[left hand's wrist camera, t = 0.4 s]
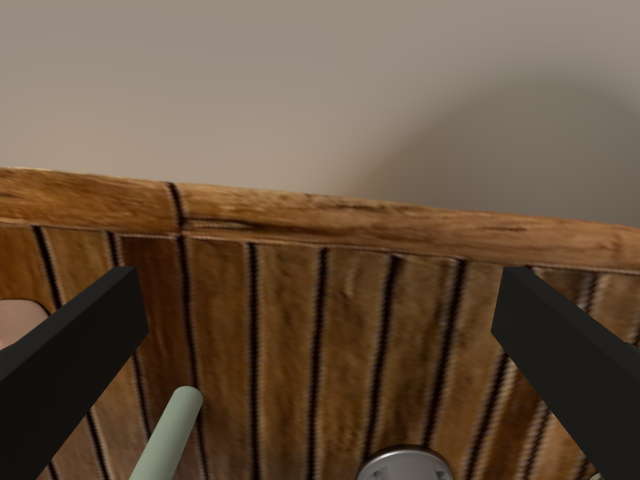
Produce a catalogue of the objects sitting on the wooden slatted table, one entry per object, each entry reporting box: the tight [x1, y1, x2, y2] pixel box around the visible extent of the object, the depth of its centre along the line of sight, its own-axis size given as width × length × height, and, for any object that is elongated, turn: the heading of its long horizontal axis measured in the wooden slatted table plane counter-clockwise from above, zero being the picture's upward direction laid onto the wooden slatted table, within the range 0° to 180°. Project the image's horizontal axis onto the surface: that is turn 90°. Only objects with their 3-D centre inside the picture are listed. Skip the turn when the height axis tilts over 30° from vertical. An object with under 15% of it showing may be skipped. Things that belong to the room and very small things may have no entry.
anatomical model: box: [0, 300, 49, 350], centre depth 45 cm, size 13×4×12 cm
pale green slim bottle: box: [129, 386, 203, 480], centre depth 42 cm, size 4×4×18 cm
